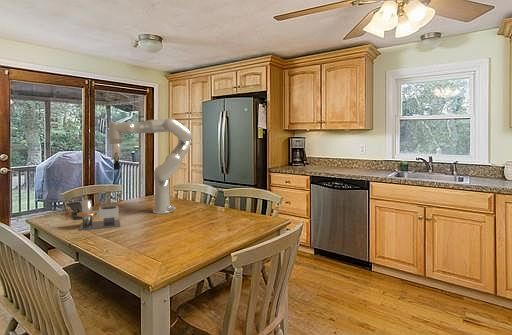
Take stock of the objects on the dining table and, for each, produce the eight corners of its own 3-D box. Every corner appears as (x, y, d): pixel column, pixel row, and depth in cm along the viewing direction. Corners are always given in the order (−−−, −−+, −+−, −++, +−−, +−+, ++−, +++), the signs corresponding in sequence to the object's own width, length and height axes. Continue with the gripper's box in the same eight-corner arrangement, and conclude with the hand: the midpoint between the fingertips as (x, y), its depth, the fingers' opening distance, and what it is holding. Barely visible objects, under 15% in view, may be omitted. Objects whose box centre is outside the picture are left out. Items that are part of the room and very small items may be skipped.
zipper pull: (80, 201, 212) (90, 207, 193) (81, 211, 213) (90, 218, 194) (65, 203, 206) (74, 209, 188) (66, 213, 207) (74, 220, 188)
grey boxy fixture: (119, 221, 188) (118, 196, 186) (120, 226, 176) (119, 200, 175) (78, 225, 178) (77, 199, 177) (76, 231, 167) (75, 203, 165)
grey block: (114, 221, 182) (113, 205, 181) (114, 223, 179) (114, 206, 178) (103, 222, 180) (103, 205, 179) (103, 224, 177) (103, 206, 176)
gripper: (108, 141, 203) (109, 167, 205) (109, 142, 187) (110, 170, 189) (121, 141, 206) (122, 167, 208) (122, 142, 191) (123, 169, 192)
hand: (116, 168), depth 198 cm, fingers open, 9 cm apart
